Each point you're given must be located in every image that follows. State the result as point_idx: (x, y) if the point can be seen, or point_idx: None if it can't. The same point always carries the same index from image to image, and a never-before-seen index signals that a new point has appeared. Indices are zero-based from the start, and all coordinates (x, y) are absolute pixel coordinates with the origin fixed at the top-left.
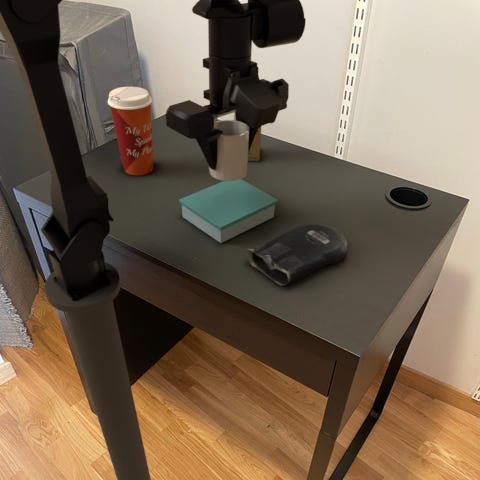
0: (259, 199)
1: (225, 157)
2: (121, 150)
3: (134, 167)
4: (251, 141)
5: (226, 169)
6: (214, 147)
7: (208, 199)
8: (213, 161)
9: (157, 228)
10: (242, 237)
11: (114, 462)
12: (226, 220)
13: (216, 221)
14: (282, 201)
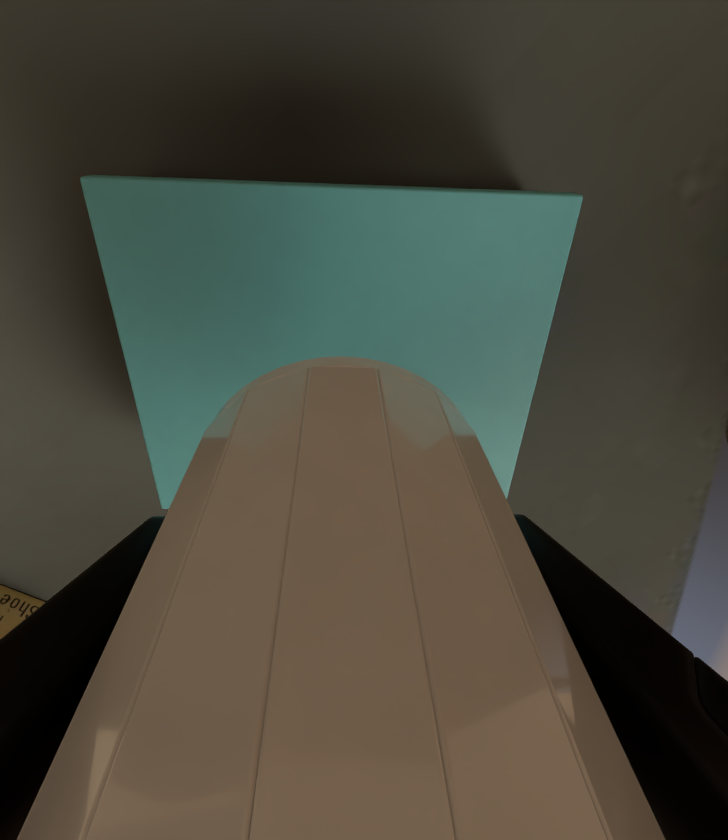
0: (188, 268)
1: (524, 552)
2: None
3: None
4: (36, 634)
5: (480, 457)
6: (716, 721)
7: None
8: (591, 570)
9: (592, 448)
10: (411, 156)
11: None
12: (505, 228)
13: (546, 261)
14: (9, 265)
